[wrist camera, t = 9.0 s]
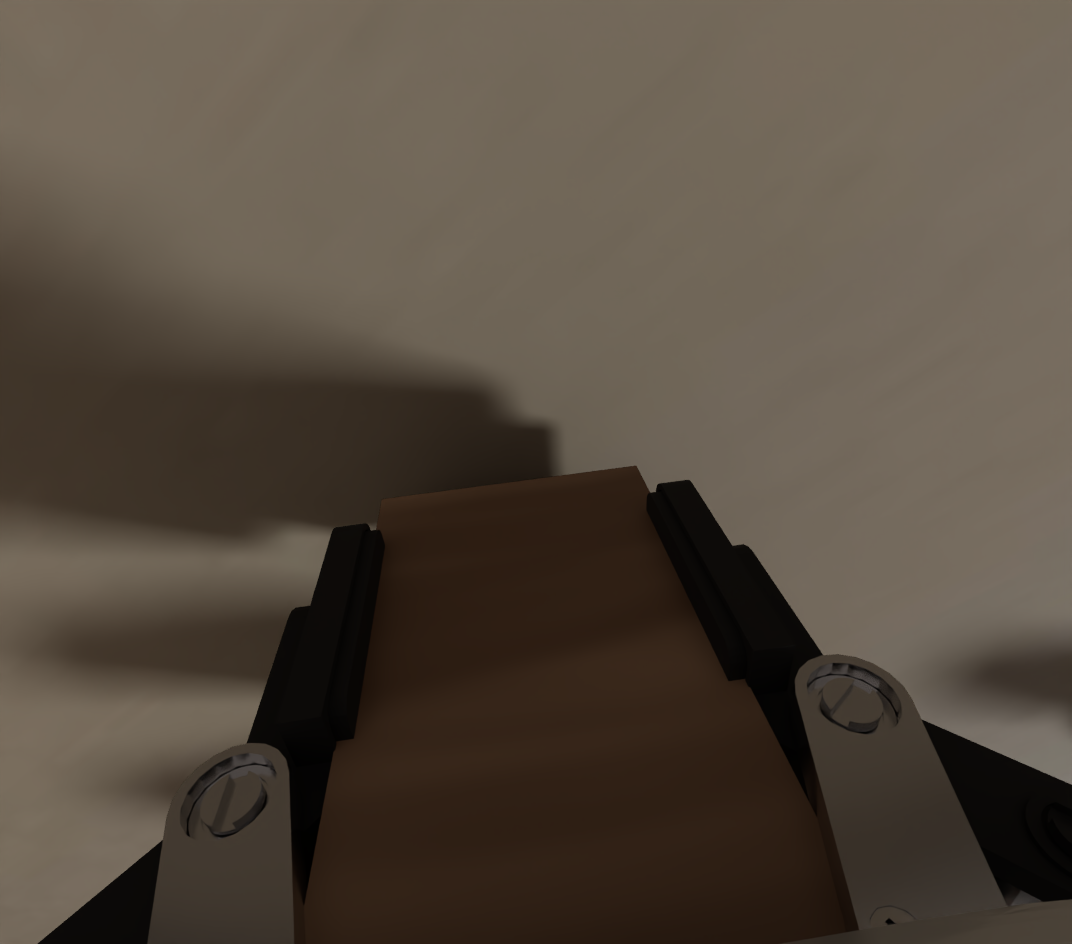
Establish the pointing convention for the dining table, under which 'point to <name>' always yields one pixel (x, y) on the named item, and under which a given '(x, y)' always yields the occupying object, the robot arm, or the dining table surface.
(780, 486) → the dining table surface
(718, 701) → the domino
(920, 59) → the dining table surface
